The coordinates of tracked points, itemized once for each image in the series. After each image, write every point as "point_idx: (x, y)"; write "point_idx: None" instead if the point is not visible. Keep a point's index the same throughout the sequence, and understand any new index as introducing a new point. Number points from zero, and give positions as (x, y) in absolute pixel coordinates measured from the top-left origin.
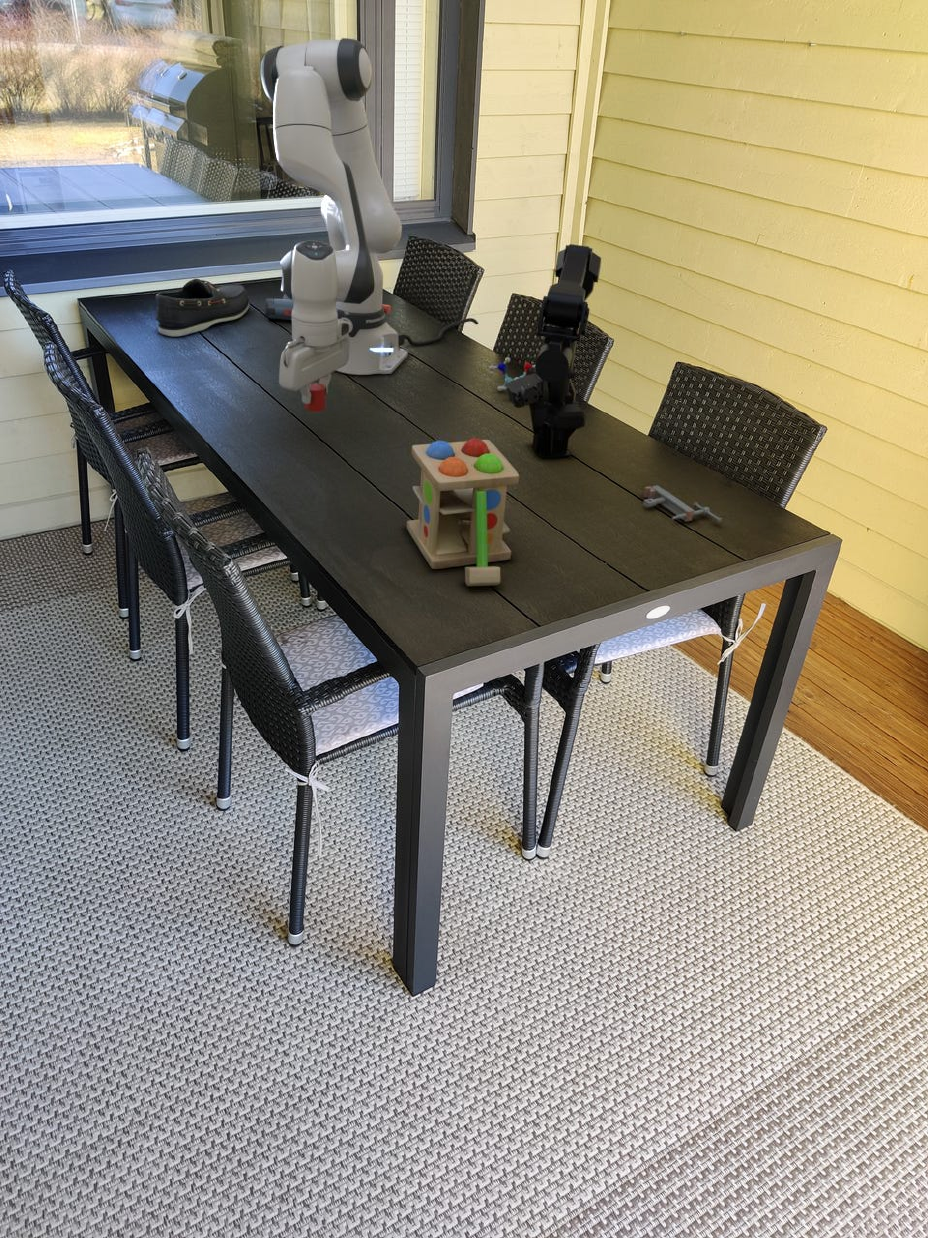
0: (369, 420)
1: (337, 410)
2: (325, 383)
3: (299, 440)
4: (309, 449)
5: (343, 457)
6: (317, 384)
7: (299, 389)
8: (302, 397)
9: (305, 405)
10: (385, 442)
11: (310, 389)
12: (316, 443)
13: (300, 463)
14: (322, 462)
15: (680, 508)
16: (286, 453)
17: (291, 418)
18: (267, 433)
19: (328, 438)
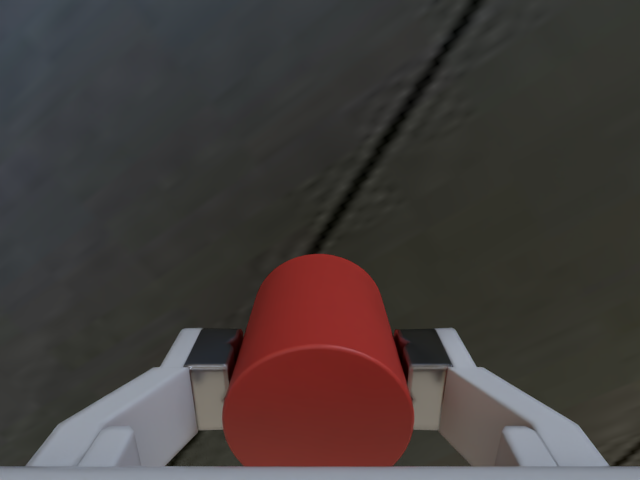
0: (579, 343)
1: (636, 177)
2: (461, 438)
3: (218, 224)
4: (175, 303)
5: None
6: (380, 416)
7: (89, 412)
8: (172, 352)
9: (269, 279)
10: None
11: (229, 430)
12: (242, 295)
13: (52, 341)
14: None
15: None
16: (74, 253)
17: (421, 32)
18: (173, 45)
19: None
